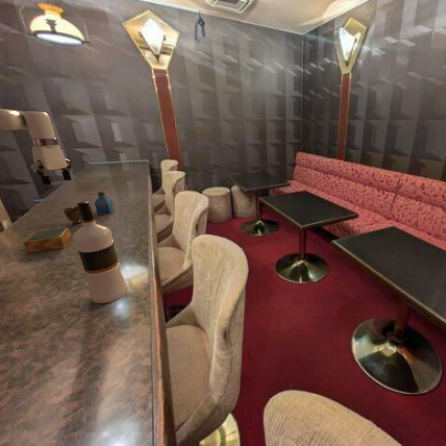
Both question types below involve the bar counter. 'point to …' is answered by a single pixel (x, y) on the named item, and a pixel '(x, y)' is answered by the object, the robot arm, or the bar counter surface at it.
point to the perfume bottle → (103, 204)
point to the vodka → (98, 258)
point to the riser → (47, 240)
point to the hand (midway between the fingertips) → (58, 182)
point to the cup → (73, 215)
